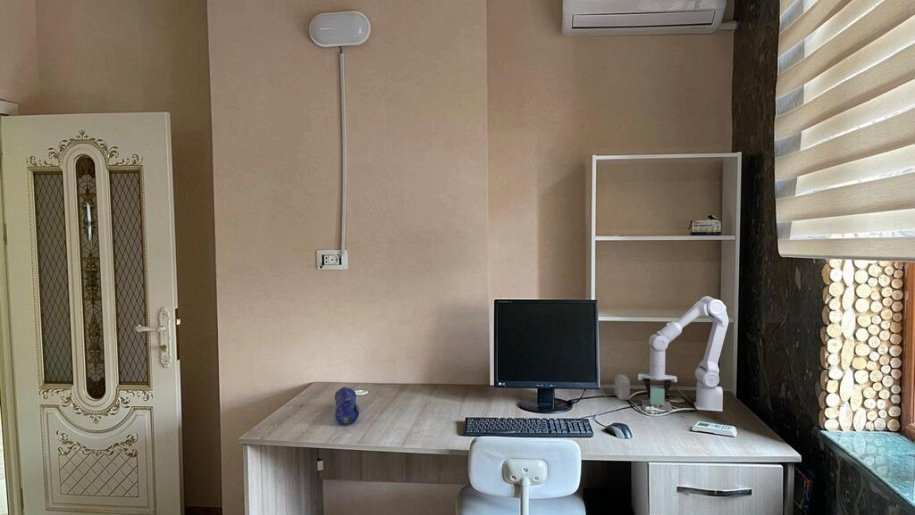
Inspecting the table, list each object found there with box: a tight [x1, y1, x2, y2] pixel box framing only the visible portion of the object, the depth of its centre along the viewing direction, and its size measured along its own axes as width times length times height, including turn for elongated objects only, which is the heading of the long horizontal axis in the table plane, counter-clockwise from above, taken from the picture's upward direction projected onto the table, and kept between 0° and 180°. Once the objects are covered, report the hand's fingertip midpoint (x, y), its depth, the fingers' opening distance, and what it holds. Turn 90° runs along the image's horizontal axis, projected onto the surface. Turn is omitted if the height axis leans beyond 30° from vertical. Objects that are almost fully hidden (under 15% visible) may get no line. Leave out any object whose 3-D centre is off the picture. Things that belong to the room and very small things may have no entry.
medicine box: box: [614, 374, 631, 401], centre depth 237 cm, size 8×4×9 cm, turn 179°
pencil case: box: [334, 386, 360, 426], centre depth 216 cm, size 22×9×10 cm, turn 13°
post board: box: [640, 399, 673, 411], centre depth 225 cm, size 11×11×5 cm
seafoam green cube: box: [648, 384, 665, 405], centre depth 224 cm, size 5×5×6 cm
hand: (656, 398), depth 224 cm, fingers closed on seafoam green cube, 5 cm apart
